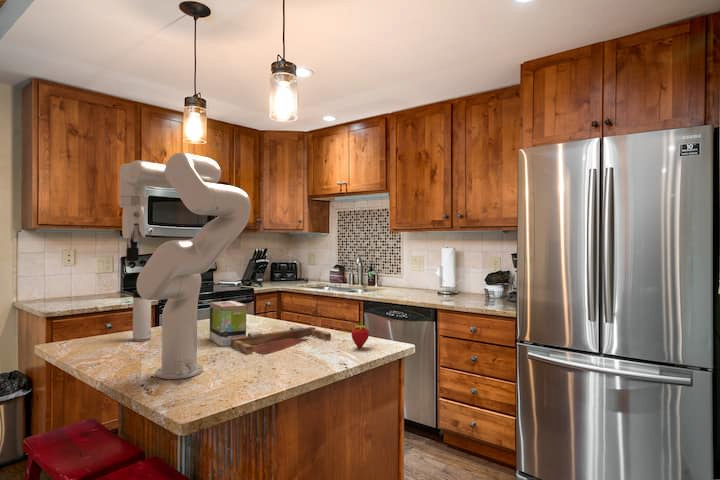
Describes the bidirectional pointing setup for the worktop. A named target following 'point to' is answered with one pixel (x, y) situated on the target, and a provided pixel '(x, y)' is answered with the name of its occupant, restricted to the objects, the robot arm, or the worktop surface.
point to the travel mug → (141, 318)
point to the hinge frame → (275, 337)
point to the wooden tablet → (276, 345)
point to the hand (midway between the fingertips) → (132, 260)
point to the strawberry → (360, 335)
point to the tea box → (227, 321)
